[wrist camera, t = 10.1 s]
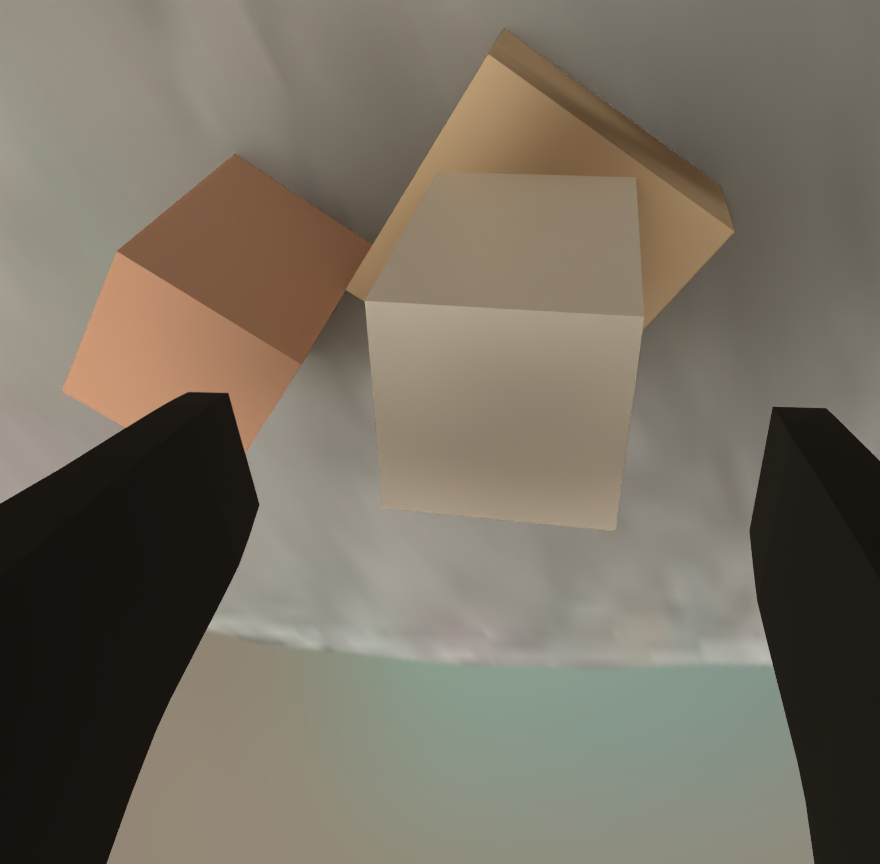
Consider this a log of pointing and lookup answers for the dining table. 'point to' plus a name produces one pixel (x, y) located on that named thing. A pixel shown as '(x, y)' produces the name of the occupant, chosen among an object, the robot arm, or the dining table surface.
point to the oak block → (567, 165)
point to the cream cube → (509, 348)
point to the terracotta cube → (215, 301)
